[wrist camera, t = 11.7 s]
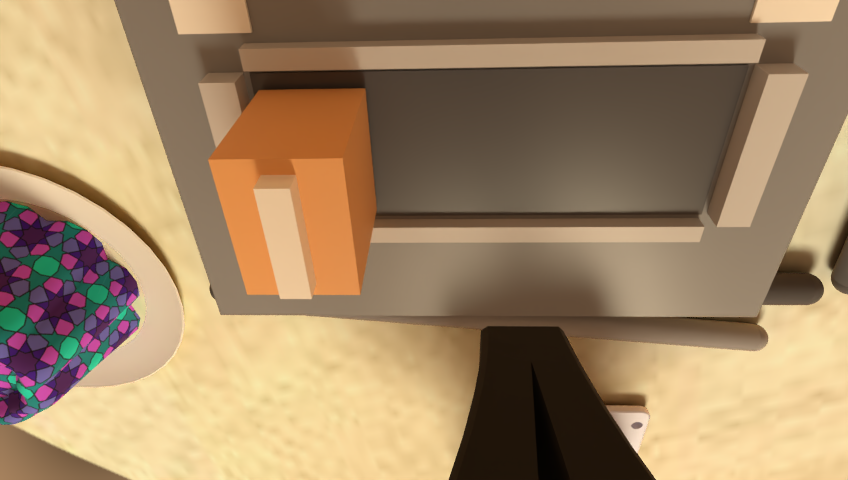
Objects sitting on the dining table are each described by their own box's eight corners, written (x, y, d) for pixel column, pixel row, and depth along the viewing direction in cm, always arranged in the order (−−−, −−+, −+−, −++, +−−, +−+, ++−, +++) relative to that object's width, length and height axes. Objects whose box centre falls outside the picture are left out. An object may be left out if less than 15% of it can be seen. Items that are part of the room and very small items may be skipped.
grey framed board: (738, 288, 22) (766, 332, 20) (233, 287, 23) (213, 329, 21) (915, -151, 13) (993, -147, 11) (107, -124, 14) (54, -116, 12)
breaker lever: (376, 208, 18) (357, 310, 14) (284, 209, 18) (240, 310, 14) (365, 88, 15) (338, 172, 12) (259, 89, 16) (198, 173, 12)
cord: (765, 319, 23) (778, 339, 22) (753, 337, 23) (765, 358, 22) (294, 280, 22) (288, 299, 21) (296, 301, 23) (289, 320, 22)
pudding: (-105, 322, 25) (-216, 422, 21) (-133, 95, 19) (-304, 173, 14) (163, 403, 28) (112, 505, 24) (220, 230, 21) (164, 328, 17)
